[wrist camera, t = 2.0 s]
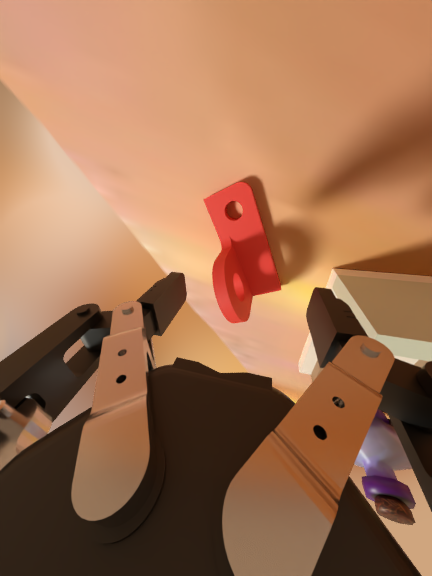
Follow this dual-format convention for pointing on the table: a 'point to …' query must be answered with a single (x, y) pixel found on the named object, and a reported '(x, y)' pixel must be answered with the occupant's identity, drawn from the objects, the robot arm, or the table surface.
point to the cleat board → (383, 313)
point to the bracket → (240, 253)
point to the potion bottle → (385, 471)
